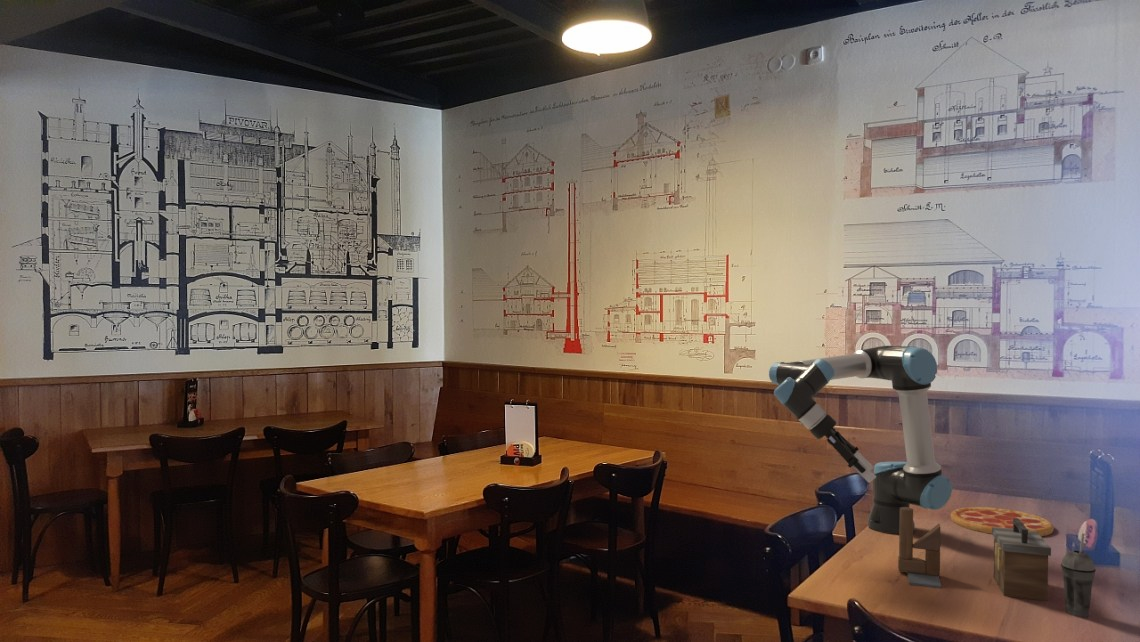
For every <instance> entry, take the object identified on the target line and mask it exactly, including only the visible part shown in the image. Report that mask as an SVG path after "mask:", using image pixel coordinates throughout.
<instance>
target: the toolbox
mask: <svg viewBox="0 0 1140 642" xmlns="http://www.w3.org/2000/svg"><path fill="white" fill-rule="evenodd" d="M991 535H992V537H993V578H994V580H995V582H996V583H997V584H996V585H998V587H999V589H1000V592H1001V593H1002V594H1003V596H1004V597H1010V598H1011V597H1012V598H1019V599H1027V600H1037V601H1047V602H1048V600H1049V599H1048V594H1049V591H1048V590H1049V583H1048V582H1049V556H1052V548H1051V546H1050V545H1049V544H1048V542H1047V541H1045V539H1044V538H1043V536H1042V537H1041V536H1040V535H1039V534H1038V532H1037V531H1031V530H1028V529H1027V528H1026V527H1025V526H1024V524H1023V523H1022V522H1021V521H1020V520H1019V519H1018V518H1013V529H1010V528H999V527H992V534H991Z"/></svg>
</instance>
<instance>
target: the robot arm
mask: <svg viewBox="0 0 1140 642" xmlns="http://www.w3.org/2000/svg"><path fill="white" fill-rule="evenodd" d="M937 374H938V364H937V361H936V358H935V356H934V355H933V354H932V352H931V351H929V350H928V349H926V348H923V347H917V346H913V345H912V346H905V345H904V346H903V345H880V346H876V347H875V346H874V347H869V348H864V349H859V350H855V351H854V352H852V354H843V355H836V356H828V357H822V358H820V357H819V358H814V359H806V360H799V361H798V360H797V361H790V362H785V361H781V362H780V361H779V362H775V363H773V364H771V366H770V367H769V370H768V377H769V380H770V382H772V383H773V384H774V385H777V387H776V388H775V389H774V391H773V395H774V396H775V398H776V399H777V400H778V401H779V402H780V404H781V405H782V406H784V407H785V408H786V409H787V410H788V412H790V413H791V414H792V415H793V416H794V417H795V418H796V419H797V420H798V421H799V425H801V426H804V427H805V428H806V429H807V430H809V432H810V433H811V434H812V435H813V437H814V438H816V439H817V440H820V439H823V437H824V436H825V437H826V438H827V439H826V441H827V443H828V444H829V445H831V446H832V448H833V449H834V450H835V451H837V453H838V454H839V455H840V456H841V457H842V458H843V459H844V460H845V461H846V463H847V464H848V465H847V466H848V468H852V469H854V470H855V471H856V472H857V473H858V474H859V475H860V476H861V477H862V478H863V479H865V481H866V482H867V483H869V484H870V483H871V482H873V504H872V507H871V510H870V512H869V516H868V519H867V527H868V528H870V529H871V530H875V531H877V532H882V533H887V534H896V535H897V534H898V535H899V526H900V508H901V507H909V508H911V506H910V505H913V506H917V507H919V508H922V509H924V510H926V509H927V510H933V511H937V510H940V509H942V508H944V507H945V506H946V505H947V504H948V502H949V500H950V499H951V496H952V494H953V493H952V492H953V491H952V490H953V484H952V481H951V480H950V479H949V477H947V475H943V471H942V465H941V464H940V463H938V462H936V455H935V446H934V441H933V438H934V437H933V432H932V423H931V415H930V407H929V399H928V391H929V390H930V388H931V387H932V382H934V381H935V380H936V375H937ZM852 377H853V378H854V377H856V378H859V379H878V380H879V379H880V380H884V381H885V380H886V381H891V385H892V390H893V391H894V392H896V393H897V394H898V401H899V406H900V407H899V409H900V417H901V423H902V430H903V431H902V432H903V440H904V447H905V455H906V461H881V462H880V461H879V462H877V463H875V465H874V466H873V464H872V463H870V461H868V460H867V458H865V457H864V456H863V454H862V453H860V451H859V449H860V448H859V447H858V446H855V445H853V444H852V443H850V442H849V440H847V438H845V437H844V436H843V435H842V434H841V433H840V432H839V431H838V430H836V428H834V427H835V426H836V424H837V421H836V420H835V419H834V418H833V417H832V416H831V415H829V414H827V411H826V410H825V409H824V408H823V407H822V406H821V405H820V404H819V403H817V401H816V400H815V399H814V397H815V396H816V395H817V394H818V393H819V392H820V391H821V390H822V389H823V388H824V387H825V386H827V385H828V384H829V383H830V381H832V380H840V379H847V378H852ZM872 470H873V471H872ZM915 531H916V524H915V521H914V519H913V533H914V532H915Z"/></svg>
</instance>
